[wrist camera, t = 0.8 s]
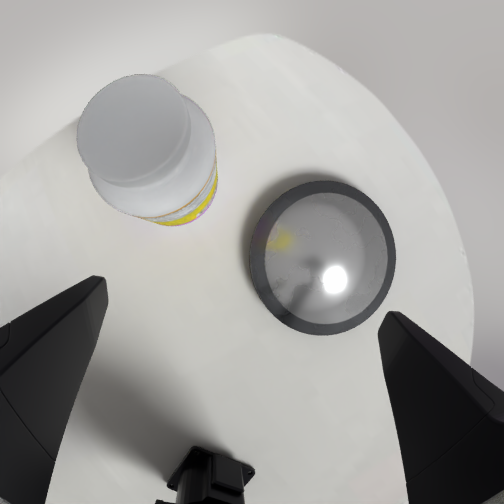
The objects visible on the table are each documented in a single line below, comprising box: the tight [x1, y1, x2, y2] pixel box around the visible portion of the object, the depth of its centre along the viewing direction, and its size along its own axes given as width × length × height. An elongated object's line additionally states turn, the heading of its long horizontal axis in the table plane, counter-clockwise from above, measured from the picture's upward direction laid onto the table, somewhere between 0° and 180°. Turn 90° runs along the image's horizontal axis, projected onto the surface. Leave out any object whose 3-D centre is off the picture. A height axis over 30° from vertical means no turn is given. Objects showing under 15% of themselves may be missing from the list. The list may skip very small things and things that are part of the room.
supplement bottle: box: [77, 74, 218, 226], centre depth 17 cm, size 7×7×13 cm
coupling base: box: [250, 181, 396, 335], centre depth 24 cm, size 12×12×1 cm
